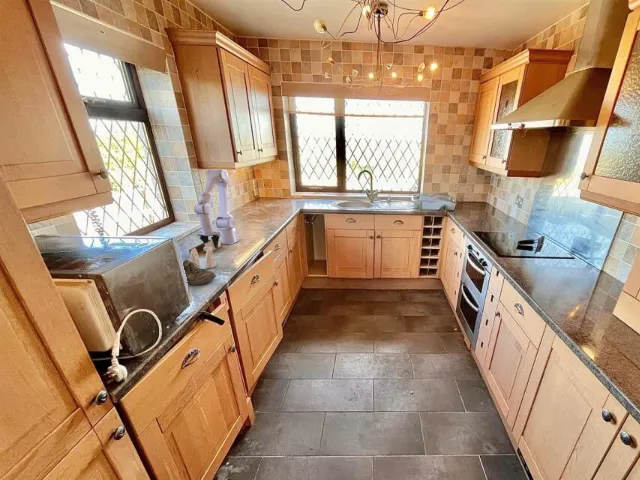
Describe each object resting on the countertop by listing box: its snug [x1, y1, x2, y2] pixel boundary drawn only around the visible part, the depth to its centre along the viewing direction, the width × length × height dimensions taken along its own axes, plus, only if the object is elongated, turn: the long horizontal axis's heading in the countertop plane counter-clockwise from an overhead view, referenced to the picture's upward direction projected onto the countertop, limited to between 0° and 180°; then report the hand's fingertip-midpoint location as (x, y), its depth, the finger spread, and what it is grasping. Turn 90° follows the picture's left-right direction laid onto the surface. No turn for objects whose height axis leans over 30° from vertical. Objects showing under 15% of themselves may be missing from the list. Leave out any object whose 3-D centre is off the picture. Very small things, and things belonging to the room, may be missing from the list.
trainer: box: [203, 239, 222, 253], centre depth 182 cm, size 11×5×5 cm, turn 176°
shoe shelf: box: [188, 239, 230, 257], centre depth 183 cm, size 20×12×4 cm, turn 176°
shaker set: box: [189, 247, 217, 269], centre depth 155 cm, size 12×4×11 cm, turn 125°
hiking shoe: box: [182, 259, 217, 286], centre depth 142 cm, size 9×21×12 cm, turn 89°
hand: (212, 247), depth 183 cm, fingers closed on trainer, 4 cm apart
